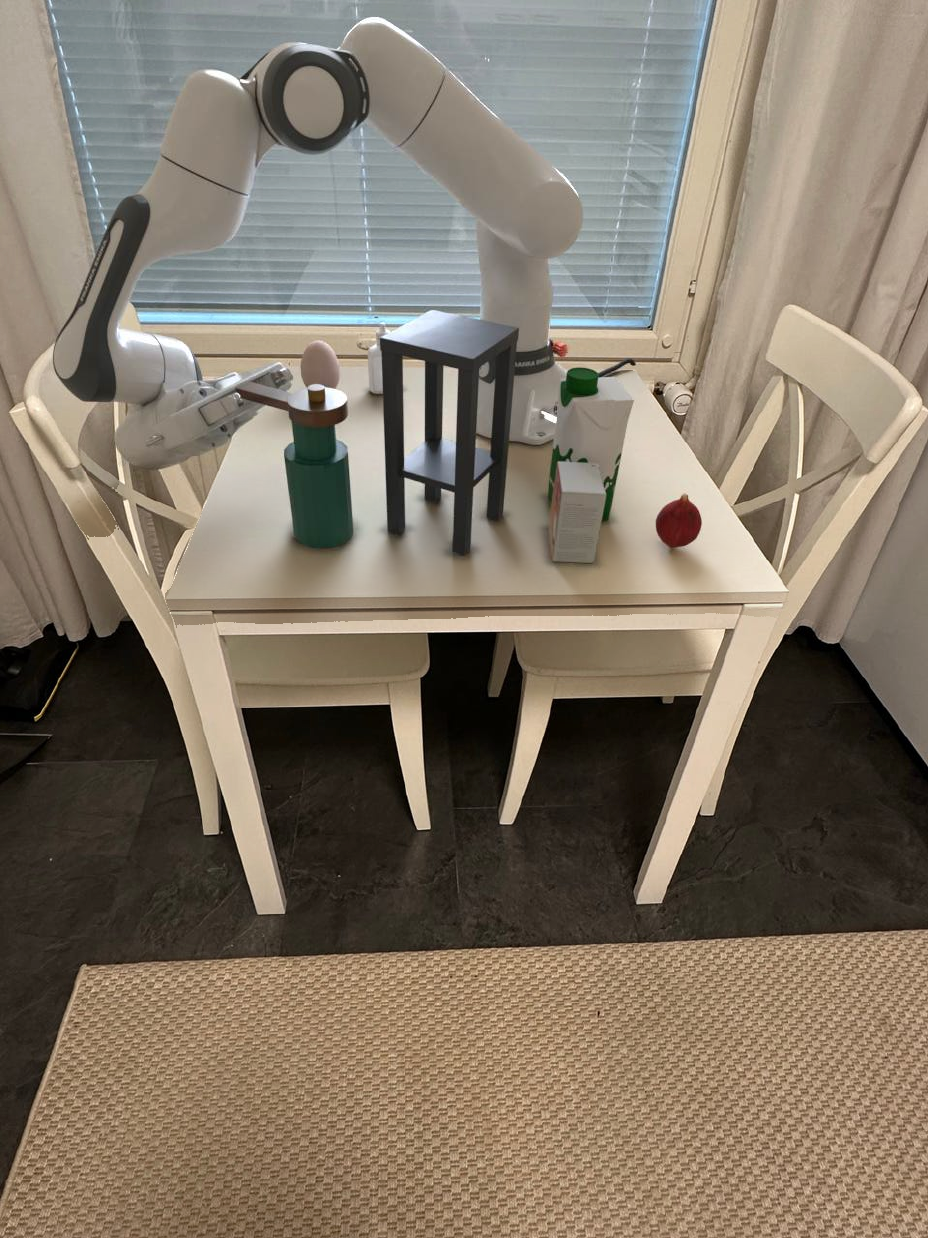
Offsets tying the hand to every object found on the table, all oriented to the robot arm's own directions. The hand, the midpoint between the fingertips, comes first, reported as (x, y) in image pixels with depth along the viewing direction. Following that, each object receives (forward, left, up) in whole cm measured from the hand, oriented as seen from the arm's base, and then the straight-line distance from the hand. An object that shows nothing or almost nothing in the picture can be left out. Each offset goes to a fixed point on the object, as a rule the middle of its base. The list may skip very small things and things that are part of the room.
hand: (263, 386), depth 92 cm
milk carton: (-38, +18, -19) cm, 46 cm away
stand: (-19, +12, -19) cm, 29 cm away
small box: (-31, +25, -19) cm, 44 cm away
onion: (-43, +32, -19) cm, 57 cm away
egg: (-22, -35, -19) cm, 45 cm away
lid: (-2, +4, -2) cm, 4 cm away
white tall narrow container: (-33, -32, -19) cm, 49 cm away
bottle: (-4, +6, -19) cm, 20 cm away
